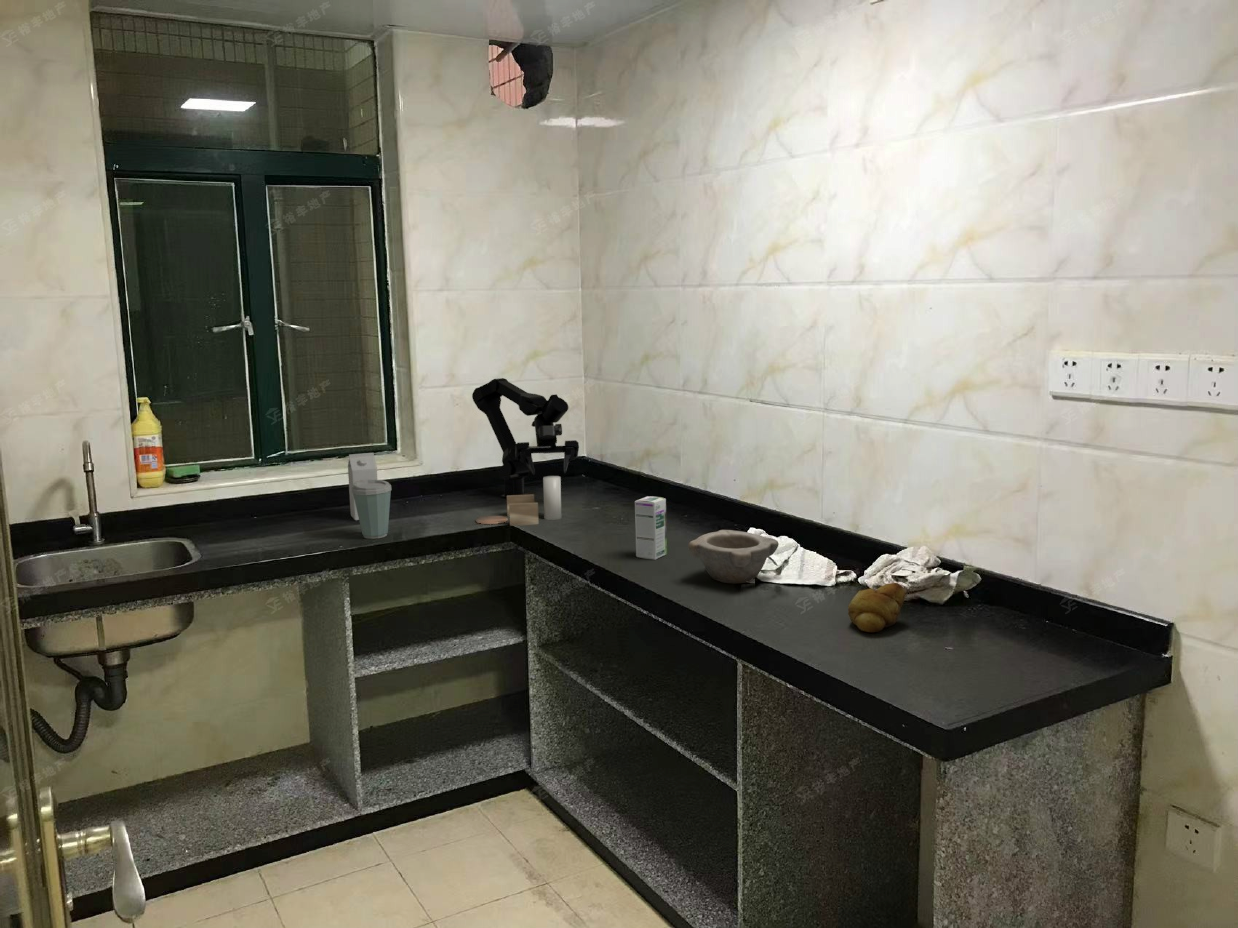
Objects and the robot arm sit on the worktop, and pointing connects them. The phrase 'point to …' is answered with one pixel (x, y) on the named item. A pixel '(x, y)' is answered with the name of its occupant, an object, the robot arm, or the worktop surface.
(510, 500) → the wall
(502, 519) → the pad
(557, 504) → the white cylinder
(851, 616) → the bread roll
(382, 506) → the disposable coffee cup
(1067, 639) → the worktop surface
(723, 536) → the mortar
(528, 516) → the outer gate wall
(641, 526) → the syrup box
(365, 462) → the milk carton
